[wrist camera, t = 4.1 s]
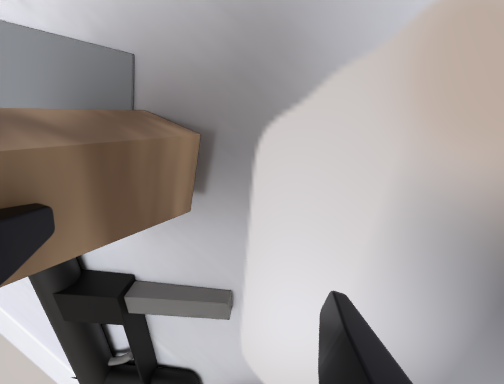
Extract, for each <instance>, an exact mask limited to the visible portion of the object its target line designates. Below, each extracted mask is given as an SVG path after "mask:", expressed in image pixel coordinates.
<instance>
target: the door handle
mask: <svg viewBox="0 0 504 384" xmlns="http://www.w3.org/2000/svg"><path fill="white" fill-rule="evenodd" d="M28 277H29V279H30V281H31V284H32V286H33V288H34V290H35V292H36V294H37V296H38V298H39V300H40V302H41V304H42V306H43V309H44V311H45V313H46V315H47V317H48V319H49V321H50V323H51V325H52V327H53V329H54V331H55V334H56V336H57V338H58V340H59V342H60V344H61V346H62V348H63V350H64V352H65V354H66V356H67V359H68V361H69V363H70V365H71V367H72V369H73V371H74V373H75V375H76V377H71V378H75V379H78V381H79V384H200V381H199V378H198V377H197V375H196V374H195V373H194V372H192V371H189V370H181V369H170V368H159V367H158V364H157V360H156V356H155V352H154V349H153V345H152V341H151V337H150V333H149V329H148V326H147V322H146V318H145V314H152V315H167V316H182V317H196V318H211V319H225V320H229V319H230V314H231V309H232V298H231V290H221V289H212V288H203V287H193V286H184V285H174V284H165V283H156V282H144V281H136V279H135V276H134V275H133V274H124V273H114V272H104V271H94V270H85V269H80V267H79V264H78V262H77V259H76V257H75V258H72V259H70V260H67V261H65V262H62V263H60V264H57V265H55V266H52V267H50V268H47V269H45V270H42V271H40V272H37V273H35V274H32V275H30V276H28ZM101 324H114V325H123V327H124V330H125V333H126V336H127V339H128V342H129V345H130V349H131V351H130V352H129V353H127V354H125V355H122V356H119V357H112V354H111V351H110V349H109V346H108V343H107V340H106V338H105V335H104V332H103V330H102V327H101ZM133 358H134V361H135V364H136V365H126V364H122V363H125V362H128V361H130V360H132V359H133Z"/></svg>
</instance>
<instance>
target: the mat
mask: <svg viewBox="0 0 504 384" xmlns="http://www.w3.org/2000/svg"><path fill="white" fill-rule="evenodd" d="M133 79H134V54H130V53H126V52H122V51H118V50H114V49H111V48H107V47H103V46H99V45H95V44H91V43H87V42H83V41H79V40H75V39H71V38H67V37H63V36H59V35H55V34H52V33H48V32H44V31H40V30H36V29H32V28H28V27H24V26H20V25H16V24H12V23H8V22H4V21H0V108H38V109H90V110H133Z"/></svg>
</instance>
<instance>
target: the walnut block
mask: <svg viewBox="0 0 504 384" xmlns="http://www.w3.org/2000/svg"><path fill="white" fill-rule="evenodd" d="M200 137H201V135H200V134H198V133H196V132H194V131H191V130H189V129H187V128H184V127H182V126H180V125H177V124H175V123H173V122H171V121H168V120H166V119H164V118H161V117H159V116H157V115H154V114H152V113H150V112H148V111H141V110H90V109H38V108H0V209H1V208H8V207H14V206H20V205H26V204H33V203H40V204H43V205H47V206H50V207H51V208H52V209H53V214H54V222H55V231H54V233H53V235H52V236H51V237H50V238H49V239H48V240H47V241H46V242H45V243H44V244H43V245H42V246H41V247H40V248H39V249H38V250H37V251H36V252H35V253H34V254H33V255H32V256H31V257H30V258H29V259H28V260H27V261H26V262H25V263H24V264H23V265H22V266H21V267H20V268H19V269H18V270H17V271H16V272H15V273H14V274H13V275H12V276H11V277H10V278H9V279H8V280H6V281H5V282H4V283H3V284H2V285H1V286H0V287H2V286H5V285H7V284H10V283H12V282H15V281H17V280H20V279H22V278H25V277H27V276H30V275H32V274H35V273H37V272H40V271H42V270H45V269H47V268H50V267H52V266H55V265H57V264H60V263H62V262H65V261H67V260H70V259H72V258H75V257H77V256H80V255H82V254H85V253H87V252H90V251H92V250H95V249H97V248H100V247H102V246H105V245H107V244H110V243H112V242H115V241H117V240H120V239H122V238H125V237H127V236H130V235H132V234H135V233H137V232H140V231H142V230H145V229H147V228H150V227H152V226H155V225H157V224H160V223H162V222H165V221H167V220H170V219H172V218H175V217H177V216H180V215H182V214H185V213H187V212H190V210H191V203H192V196H193V188H194V181H195V174H196V166H197V159H198V152H199V145H200Z"/></svg>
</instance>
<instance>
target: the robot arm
mask: <svg viewBox="0 0 504 384" xmlns="http://www.w3.org/2000/svg"><path fill="white" fill-rule="evenodd" d="M54 231H55V222H54V214H53V209H52V208H51V207H50V206H47V205H43V204H40V203H33V204H26V205H20V206H14V207H8V208H1V209H0V286H1V285H2V284H3V283H4V282H5V281H6V280H8V279H9V278H10V277H11V276H12V275H13V274H14V273H15V272H16V271H17V270H18V269H19V268H20V267H21V266H22V265H23V264H24V263H25V262H26V261H27V260H28V259H29V258H30V257H31V256H32V255H33V254H34V253H35V252H36V251H37V250H38V249H39V248H40V247H41V246H42V245H43V244H44V243H45V242H46V241H47V240H48V239H49V238H50V237H51V236H52V235H53V233H54ZM319 327H320V328H319V358H318V374H319V384H413V383H412V382H411V381H410V380H409V378H408V377H407V375H406V374H405V373H404V371H403V370H402V369H401V367H400V366H399V365H398V363H397V362H396V361H395V360H394V358H393V357H392V355H391V354H390V353H389V351H388V350H387V349H386V347H385V346H384V345H383V343H382V342H381V341H380V340H379V338H378V337H377V336H376V334H375V333H374V331H373V330H372V329H371V327H370V326H369V325H368V323H367V322H366V321H365V320H364V318H363V317H362V316H361V314H360V313H359V312H358V310H357V309H356V308H355V306H354V305H353V304H352V302H351V301H350V300H349V298H348V297H347V296H346V295H345V294H343V293H339V292H336V291H331V292H330V293H329V295H328V297H327V299H326V301H325V303H324V305H323V307H322V309H321V312H320V326H319Z"/></svg>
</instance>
